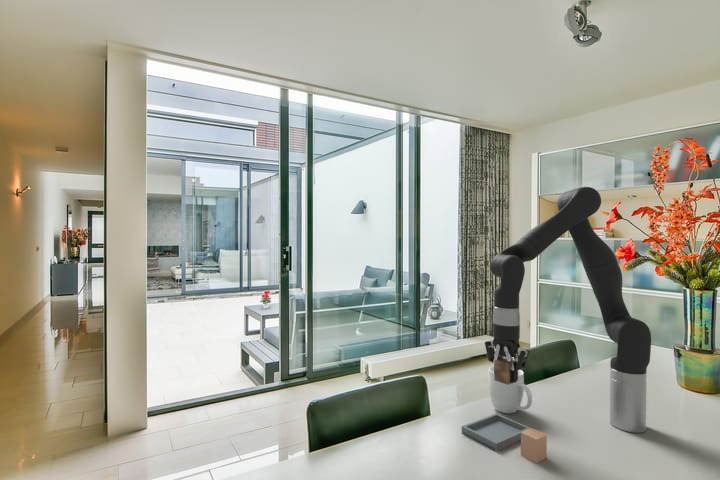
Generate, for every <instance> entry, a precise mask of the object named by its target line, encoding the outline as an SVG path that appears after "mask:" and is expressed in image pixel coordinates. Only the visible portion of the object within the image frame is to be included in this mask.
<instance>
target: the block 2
mask: <svg viewBox="0 0 720 480" xmlns="http://www.w3.org/2000/svg"><path fill="white" fill-rule="evenodd" d="M547 439H548V436H547V434H546V433H544V432H541V431H540V430H536V429H534V428H531V427H530V429H528V430H525V431H523V432H521V440H520V456H521V457H524V458H526V459H527V460H530V461H532V462H534V463H536V464H537V463H539V462H541V461H544V460H545V459H547V455H548V454H547V453H548V451H547V449H548V448H547V447H548V446H547V445H548V443H547V441H548V440H547Z"/></svg>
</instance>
